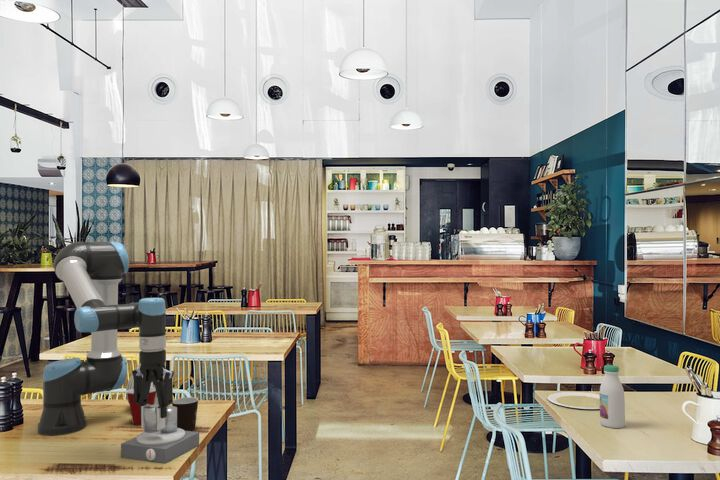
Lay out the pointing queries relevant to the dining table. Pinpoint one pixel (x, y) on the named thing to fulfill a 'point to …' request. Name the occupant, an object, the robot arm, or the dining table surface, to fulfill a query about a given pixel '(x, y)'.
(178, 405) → the coffee mug
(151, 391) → the plastic cup
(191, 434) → the scale
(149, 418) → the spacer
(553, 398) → the plate
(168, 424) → the cylinder
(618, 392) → the milk bottle
